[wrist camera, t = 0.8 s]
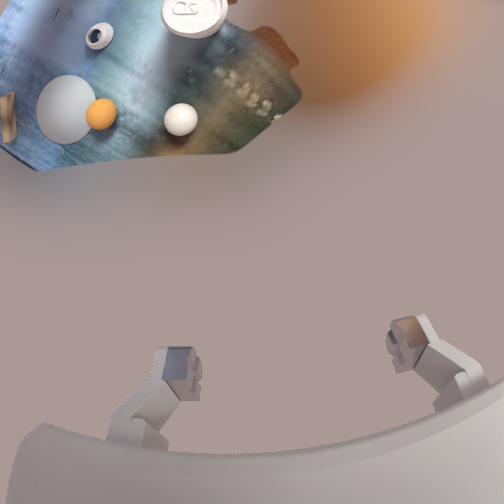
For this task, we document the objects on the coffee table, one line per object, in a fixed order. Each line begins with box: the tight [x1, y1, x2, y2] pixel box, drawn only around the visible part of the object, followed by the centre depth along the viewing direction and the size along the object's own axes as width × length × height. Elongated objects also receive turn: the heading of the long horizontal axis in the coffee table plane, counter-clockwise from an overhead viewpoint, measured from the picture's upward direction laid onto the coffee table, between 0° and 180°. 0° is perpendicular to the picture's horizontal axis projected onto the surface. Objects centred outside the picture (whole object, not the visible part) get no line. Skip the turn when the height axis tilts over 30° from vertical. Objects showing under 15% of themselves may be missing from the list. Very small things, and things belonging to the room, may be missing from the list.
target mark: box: [36, 75, 96, 144], centre depth 35 cm, size 14×14×1 cm
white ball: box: [164, 103, 198, 136], centre depth 39 cm, size 6×6×6 cm
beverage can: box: [161, 0, 228, 39], centre depth 25 cm, size 8×8×12 cm
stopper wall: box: [0, 92, 17, 143], centre depth 31 cm, size 10×2×3 cm, turn 165°
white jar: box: [86, 22, 114, 50], centre depth 27 cm, size 5×3×5 cm
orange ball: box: [86, 98, 117, 130], centre depth 36 cm, size 6×6×6 cm
